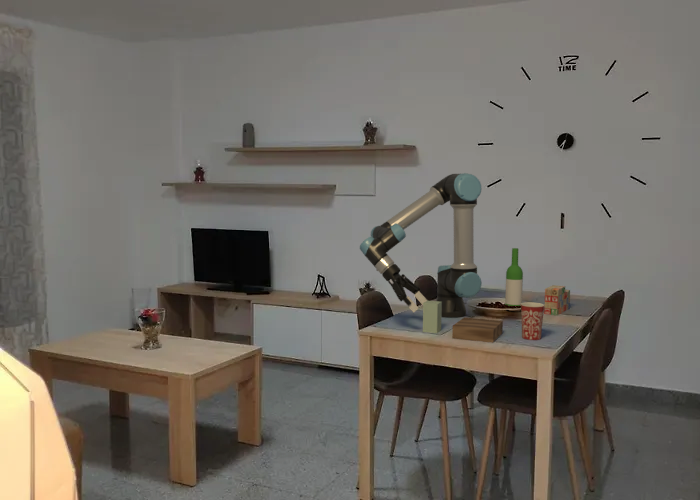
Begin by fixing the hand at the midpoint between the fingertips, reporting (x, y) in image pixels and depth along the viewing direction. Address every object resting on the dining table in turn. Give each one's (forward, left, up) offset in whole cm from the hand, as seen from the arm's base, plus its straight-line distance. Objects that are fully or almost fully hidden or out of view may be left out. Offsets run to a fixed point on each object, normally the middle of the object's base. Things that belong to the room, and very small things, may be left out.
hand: (421, 307), depth 270 cm
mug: (-8, +43, -10) cm, 45 cm away
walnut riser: (-1, +23, -10) cm, 25 cm away
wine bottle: (-60, +27, -10) cm, 66 cm away
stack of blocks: (-69, +46, -10) cm, 83 cm away
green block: (-1, +4, -10) cm, 11 cm away
